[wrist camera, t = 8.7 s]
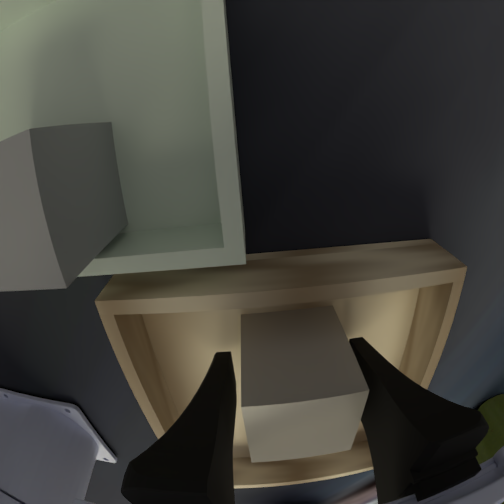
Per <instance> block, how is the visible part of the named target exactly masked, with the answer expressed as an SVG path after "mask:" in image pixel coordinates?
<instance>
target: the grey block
mask: <svg viewBox="0 0 504 504" xmlns="http://www.w3.org/2000/svg"><path fill="white" fill-rule="evenodd" d="M127 225H128V220H127V215H126V210H125V205H124V200H123V195H122V190H121V184H120V178H119V172H118V166H117V160H116V153H115V146H114V139H113V131H112V123H111V122H101V123H83V124H70V125H59V126H49V127H40V128H32V129H28V130H25V131H23V132H21V133H18V134H16V135H14V136H11V137H9V138H7V139H5V140H3V141H0V291H23V290H44V289H63V288H68V286H69V285H70V284H71V283H72V282H73V281H74V280H75V279H76V278H77V276H78V275H79V274H80V273H81V272H82V271H83V270H84V269H85V268H86V267H87V266H88V264H89V263H90V262H91V261H92V260H93V259H94V258H95V257H96V256H97V255H98V254H99V253H100V252H101V251H102V250H103V249H104V248H105V247H106V246H107V245H108V244H109V243H110V242H111V241H112V240H113V239H114V238H115V237H116V236H117V235H118V234H119V233H120V232H121V231H122V230H123V229H124V228H125V227H126V226H127Z"/></svg>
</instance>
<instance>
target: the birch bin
mask: <svg viewBox="0 0 504 504" xmlns="http://www.w3.org/2000/svg"><path fill="white" fill-rule="evenodd" d="M466 270H467V266H466V265H464V264H463V263H462V262H461V261H459V260H458V259H457V258H455V257H454V256H453V255H452V254H450V253H449V252H448V251H446V250H445V249H444V248H442V247H441V246H440V245H438V244H437V243H436V242H434V241H433V240H432V239H421V240H409V241H398V242H386V243H374V244H362V245H351V246H339V247H327V248H315V249H303V250H291V251H279V252H267V253H255V254H246V264H242V265H229V266H217V267H204V268H192V269H179V270H165V271H152V272H138V273H124V274H114V275H113V276H112V278H111V279H110V280H109V282H108V283H107V284H106V286H105V287H104V289H103V290H102V291H101V293H100V294H99V295H98V297H97V298H96V300H95V304H96V307H97V309H98V312H99V315H100V317H101V320H102V323H103V325H104V328H105V330H106V333H107V335H108V338H109V340H110V343H111V345H112V348H113V350H114V352H115V355H116V357H117V359H118V361H119V364H120V366H121V368H122V370H123V372H124V375H125V377H126V379H127V381H128V383H129V385H130V387H131V389H132V391H133V393H134V395H135V397H136V399H137V401H138V403H139V405H140V407H141V409H142V411H143V413H144V415H145V416H146V418H147V420H148V422H149V424H150V425H151V427H152V429H153V431H154V433H155V434H156V436H157V438H158V439H159V438H160V437H161V436H163V435H164V434H165V433H166V431H167V430H168V429H169V428H170V427H171V426H172V425H173V424H174V423H175V421H176V420H177V419H178V418H179V417H180V415H181V414H182V413H183V411H184V410H185V409H186V407H187V406H188V405H189V403H190V402H191V400H192V398H193V397H194V395H195V394H196V392H197V390H198V389H199V387H200V385H201V383H202V381H203V379H204V378H205V376H206V374H207V372H208V369H209V367H210V365H211V363H212V360H213V357H214V355H215V353H216V352H228V351H231V355H232V361H233V367H234V373H235V379H236V391H237V407H236V418H235V429H234V440H233V479H234V488H257V487H271V486H282V485H292V484H300V483H307V482H314V481H320V480H326V479H332V478H337V477H342V476H347V475H351V474H356V473H360V472H364V471H368V470H372V469H373V463H372V458H371V454H370V449H369V445H368V441H367V437H366V433H365V430H364V427H363V424H362V422H361V420H360V423H359V426H358V430H357V433H356V435H355V438H354V441H353V444H352V447H351V450H347V451H342V452H336V453H331V454H325V455H319V456H312V457H305V458H298V459H289V460H280V461H269V462H254V463H252V462H251V457H250V452H249V447H248V442H247V436H246V431H245V426H244V420H243V415H242V409H241V314H252V313H264V312H275V311H286V310H296V309H306V308H315V307H324V306H332V305H333V307H334V309H335V311H336V314H337V316H338V318H339V320H340V323H341V325H342V327H343V329H344V332H345V334H346V336H347V338H348V341H349V339H352V338H358V337H363V338H364V339H365V340H366V341H367V342H368V343H369V344H370V345H371V346H373V347H374V348H375V349H376V350H377V351H378V352H379V353H380V354H381V355H382V356H383V357H384V358H385V359H386V360H388V361H389V362H390V363H391V364H392V365H393V366H394V367H396V368H397V369H398V370H399V371H400V372H402V373H403V374H404V375H406V376H407V377H408V378H410V379H411V380H412V381H414V382H415V383H417V384H419V385H420V386H422V387H423V388H425V389H427V388H428V386H429V384H430V381H431V379H432V377H433V374H434V372H435V369H436V367H437V364H438V362H439V359H440V356H441V354H442V351H443V348H444V346H445V343H446V340H447V337H448V334H449V331H450V328H451V325H452V322H453V318H454V315H455V312H456V308H457V305H458V301H459V298H460V294H461V290H462V286H463V282H464V278H465V274H466Z"/></svg>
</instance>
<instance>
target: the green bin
mask: <svg viewBox="0 0 504 504" xmlns="http://www.w3.org/2000/svg"><path fill="white" fill-rule="evenodd" d="M101 122H111V123H112V131H113V139H114V146H115V153H116V160H117V166H118V172H119V178H120V184H121V190H122V195H123V200H124V205H125V210H126V215H127V220H128V225H127V226H126V227H125V228H124V229H123V230H122V231H121V232H120V233H119V234H118V235H117V236H116V237H115V238H114V239H113V240H112V241H111V242H110V243H109V244H108V245H107V246H106V247H105V248H104V249H103V250H102V251H101V252H100V253H99V254H98V255H97V256H96V257H95V258H94V259H93V260H92V261H91V262H90V263H89V264H88V266H87V267H86V268H85V269H84V270H83V271H82V272H81V273H80V274H79V275H78V276H77V277H81V276H95V275H110V274H124V273H138V272H152V271H165V270H179V269H192V268H204V267H217V266H229V265H242V264H246V243H245V224H244V213H243V202H242V190H241V179H240V168H239V156H238V145H237V133H236V122H235V110H234V98H233V87H232V75H231V63H230V51H229V39H228V26H227V14H226V2H225V0H0V141H3V140H5V139H7V138H9V137H11V136H14V135H16V134H18V133H21V132H23V131H25V130H28V129H32V128H40V127H49V126H59V125H70V124H83V123H101Z"/></svg>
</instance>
